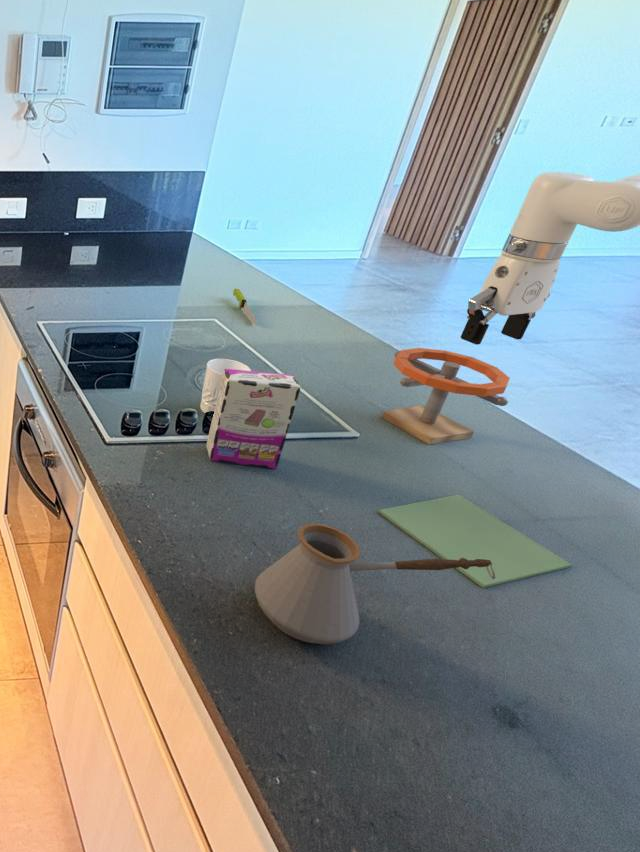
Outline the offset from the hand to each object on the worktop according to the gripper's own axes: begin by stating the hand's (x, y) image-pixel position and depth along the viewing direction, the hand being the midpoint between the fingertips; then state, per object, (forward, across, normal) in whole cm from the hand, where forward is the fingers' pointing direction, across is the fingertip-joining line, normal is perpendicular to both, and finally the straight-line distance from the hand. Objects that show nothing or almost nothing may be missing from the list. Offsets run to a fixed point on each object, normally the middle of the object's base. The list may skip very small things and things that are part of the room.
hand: (490, 338), depth 113 cm
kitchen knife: (+19, +1, +60) cm, 63 cm away
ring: (+6, -7, 0) cm, 9 cm away
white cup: (+18, -42, +15) cm, 48 cm away
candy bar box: (+18, -49, 0) cm, 52 cm away
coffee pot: (+18, -62, -35) cm, 74 cm away
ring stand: (+18, -10, 0) cm, 21 cm away
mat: (+18, -30, -26) cm, 44 cm away
